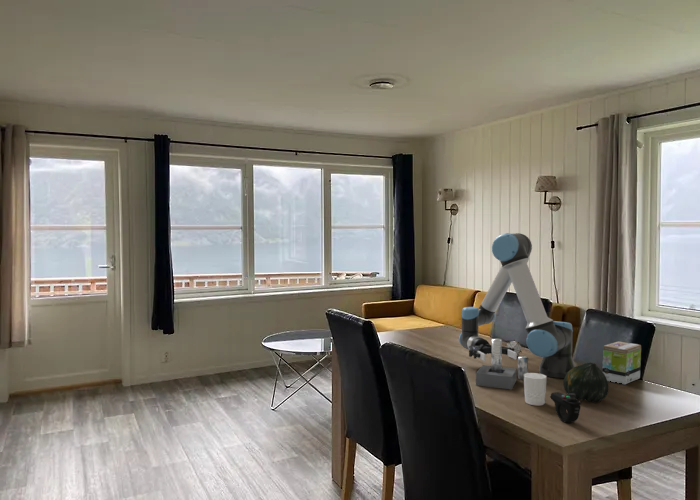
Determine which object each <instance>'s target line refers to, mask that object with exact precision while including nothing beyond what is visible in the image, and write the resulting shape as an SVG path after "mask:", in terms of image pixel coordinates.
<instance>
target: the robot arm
mask: <svg viewBox="0 0 700 500" xmlns="http://www.w3.org/2000/svg"><path fill="white" fill-rule="evenodd" d="M532 249H533V244H532V241H531V239H530V238H529V236H527V235H525V234H523V233H518V232H517V233H509V232H506V233H503V234H500V235H498V236H496V238H495V239H494V240H493V242H492V246H491V252H492V255H493V256H494V257H495V259H497V260H498V261H499V262H500V265H501V267H500V269H499V270H498V272H497V274H496V275H495V278H494V280H493V281H492V283H491V285H490V287H489V288H488V291H487V292H486V294H485V296H484V297H483V300H482V301H481V303H480V305H479V307H476V306H465V307H463V308H462V310H461V333H460V334H459V337H458V343H459V345H461V346H462V347H463V348H464V349H467V350H468V357H470V358H472V357H473V359H475V360H476V359H479V360H481V361H482V362H483V361H484V362H486V355H489V354H491V355H492V344H491V343H489V341H488V340H487V339H485V338H484V337H481V336H479V327H480V326H485V325H488V324H490V323H493V322H494V320H495V318H496V314H495V313H496V311H497V310H498V308H499V306H500V304H501V302H502V300H503V299H504V298H505V295H506V293H507V291H508V290H509V289H510V286H511V284H512V286H513V288H514V292H515V294H516V296H517V299H518V302H519V305H520V307H521V309H522V312H523V315H524V318H525V320H526V322H527V323H526V326H525V331H526V334H527V336H526V339H525V342H526V346H527V348H528V350H529V352H531V353H532V355H534V356H537V357H540V358H542V359H541V361H540V364H539V368H538V369H539V371H538V372H539V374H543V375H545V376H547V377H549V378H556V379H564V378H565V376H566V375H567V373H568V372H569V371H570V370H571V369H572V368H574V367H576V366H575V361H574V359H573V332H574V330H573V325H572V323H571V322H566V321H556V320H554V319H552V318H550V317H549V316H548V314H547V312H546V309H545V307H544V304H543V302H542V299H541V296H540V295H539V291H538V288H537V286H536V284H535V281H534V278H533V275H532V273H531V271H530V267H529V264H528V262H529V260H530V255H531V253H532ZM502 355H505V356H507V357H509V358H511V359H513V360H518V357H517V356H518V355H517V353H516V352H514V349H513V348H511V347H510V348H508V347H506V346H504V345H502Z"/></svg>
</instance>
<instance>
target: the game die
mask: <svg viewBox="0 0 700 500" xmlns="http://www.w3.org/2000/svg"><path fill="white" fill-rule="evenodd" d="M505 347H508V348H510V347H511V348H513V349H514V352H516V353H517V356H520V353H523V351H522V348H523V347H524V346H523V345H520V342H519V341H515V339H513V340H512V341H509V340H507V344H505Z"/></svg>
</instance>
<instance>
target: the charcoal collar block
mask: <svg viewBox="0 0 700 500" xmlns="http://www.w3.org/2000/svg"><path fill="white" fill-rule="evenodd" d="M516 382H517V367H516V368H515V367H508V366H507V367H505V366H502V367H501V373H495V372H491V365H487V364H482V365H481V366H480V368H478V370H477V371H476V372H475V385H476V386H479V387H488V388H497V389H506V390H513V387H514V386H515V383H516Z"/></svg>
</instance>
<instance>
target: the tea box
mask: <svg viewBox="0 0 700 500" xmlns="http://www.w3.org/2000/svg"><path fill="white" fill-rule="evenodd" d="M602 350H603V351H602V368H601V369H602V370H601V371H602V372H603V373H604V375H605V376H606V379H607V382H610V381H611V382H612V383H615V382H617V383H616V384H619V383H622V384H621V385H627V384H629V383H631V382H634V381H636V380H638V379H640V378H641V366H642V365H641V361H642V345H641V344H638V343H632V342H631V343H630V342H624V341H615V342H610V343H608V344H605V345H603V349H602ZM611 382H610V383H611Z"/></svg>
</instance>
